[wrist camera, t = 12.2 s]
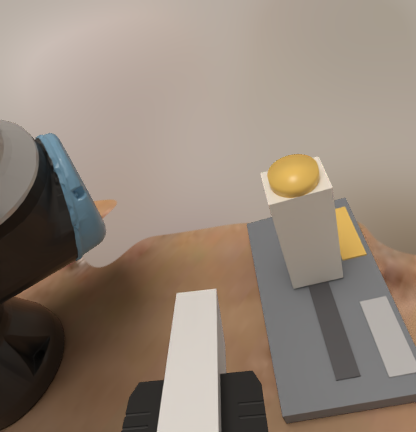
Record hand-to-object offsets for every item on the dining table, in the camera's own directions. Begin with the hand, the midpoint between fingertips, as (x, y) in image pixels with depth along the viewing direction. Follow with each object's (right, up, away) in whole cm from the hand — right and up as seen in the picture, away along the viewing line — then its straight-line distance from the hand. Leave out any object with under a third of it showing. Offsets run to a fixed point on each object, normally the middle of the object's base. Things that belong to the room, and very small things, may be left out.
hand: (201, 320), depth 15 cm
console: (+12, -5, +25) cm, 28 cm away
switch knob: (+11, -1, +25) cm, 27 cm away
